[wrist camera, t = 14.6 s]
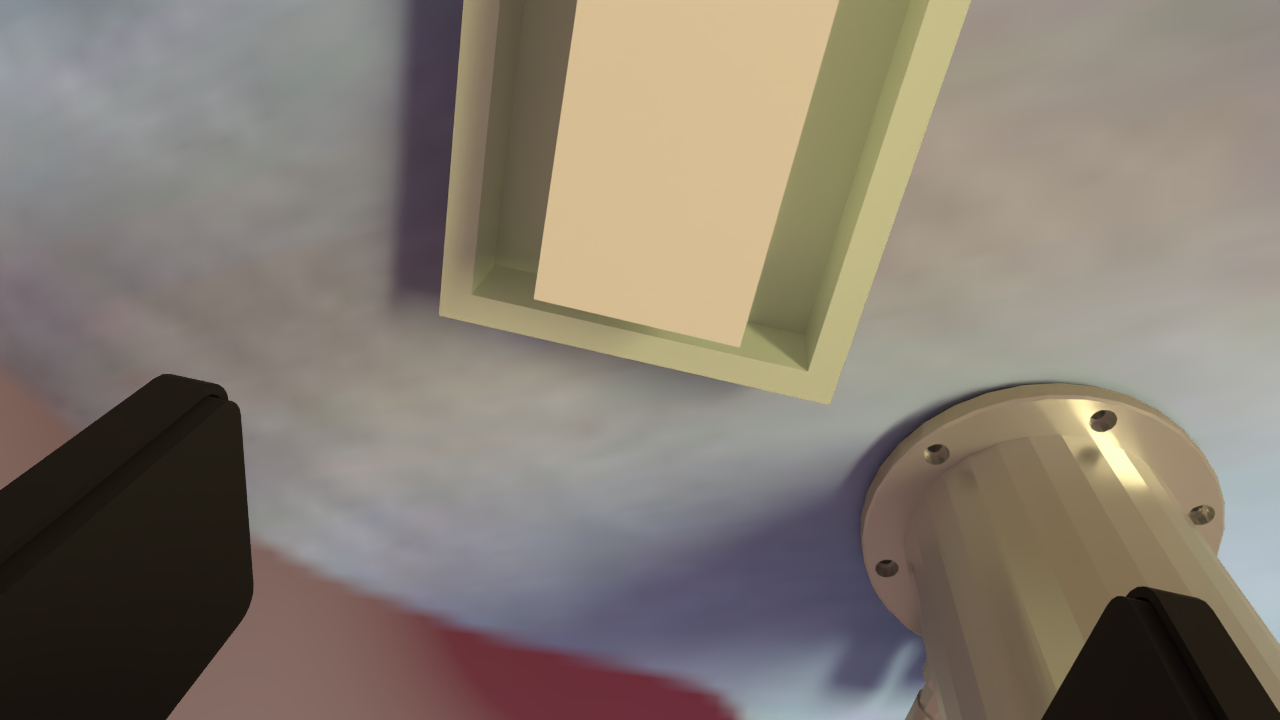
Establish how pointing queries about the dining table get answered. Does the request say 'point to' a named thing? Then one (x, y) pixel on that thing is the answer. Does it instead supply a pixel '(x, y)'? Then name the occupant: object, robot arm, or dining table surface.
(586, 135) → the tan cardboard box
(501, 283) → the tray
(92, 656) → the robot arm
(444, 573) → the dining table surface
